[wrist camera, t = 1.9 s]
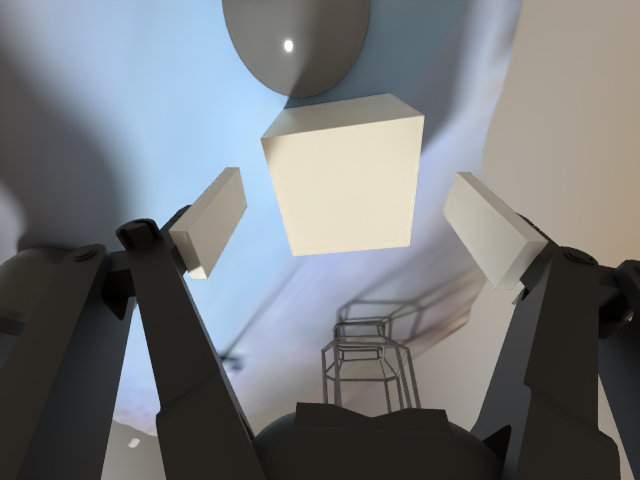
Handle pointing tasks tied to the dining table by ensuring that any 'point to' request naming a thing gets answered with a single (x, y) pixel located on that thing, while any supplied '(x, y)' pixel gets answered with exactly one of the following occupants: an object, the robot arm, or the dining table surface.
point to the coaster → (297, 41)
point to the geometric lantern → (382, 346)
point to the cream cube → (346, 173)
